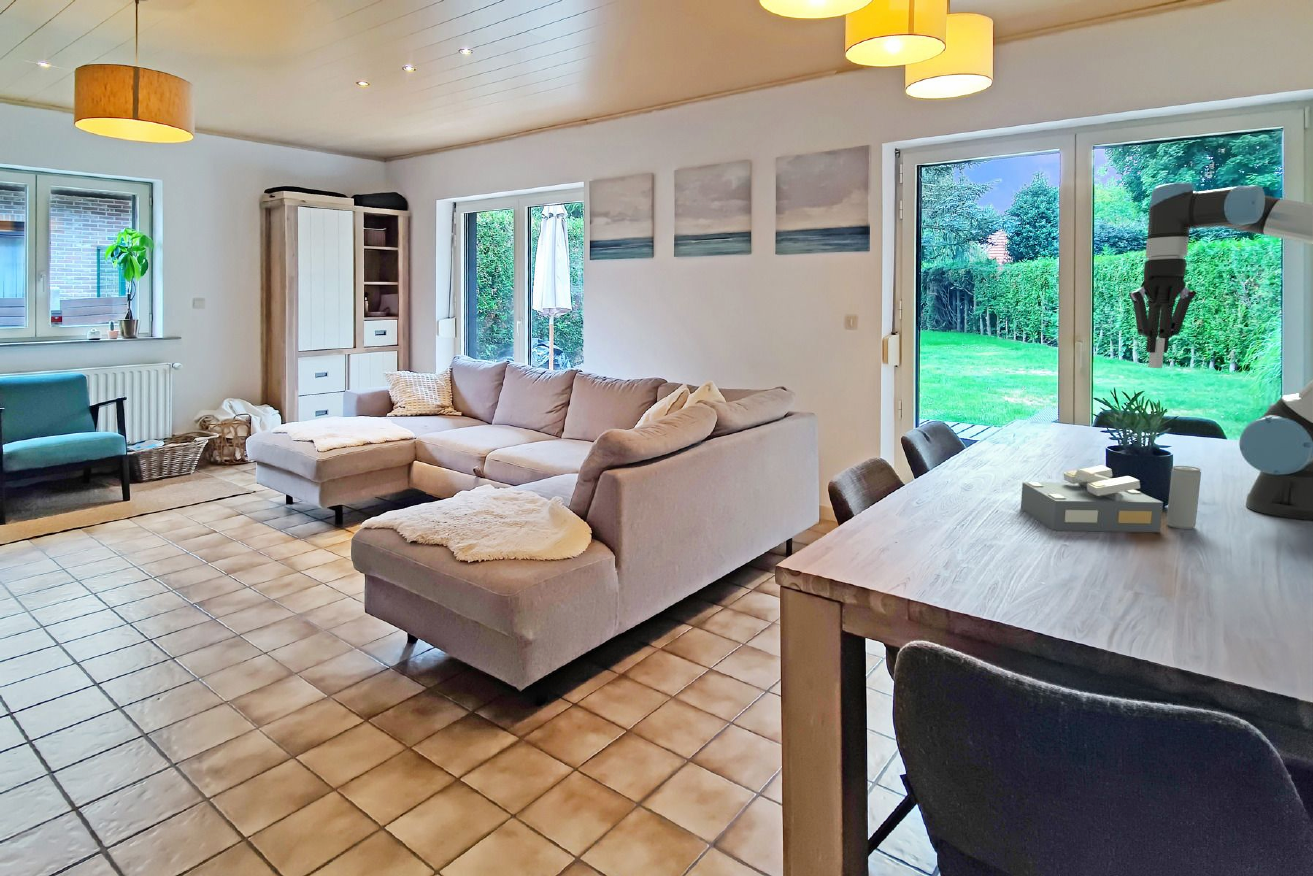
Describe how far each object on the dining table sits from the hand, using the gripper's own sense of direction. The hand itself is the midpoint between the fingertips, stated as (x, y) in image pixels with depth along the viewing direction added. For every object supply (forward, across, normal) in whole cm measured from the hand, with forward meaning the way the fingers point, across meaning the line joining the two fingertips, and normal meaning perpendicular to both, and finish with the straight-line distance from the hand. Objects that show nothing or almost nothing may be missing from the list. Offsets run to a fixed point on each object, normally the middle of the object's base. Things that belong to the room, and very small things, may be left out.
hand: (1155, 367), depth 167 cm
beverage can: (+31, +4, +22) cm, 38 cm away
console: (+30, +20, +18) cm, 40 cm away
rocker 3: (+22, +18, +23) cm, 36 cm away
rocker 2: (+22, +18, +18) cm, 33 cm away
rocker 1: (+22, +18, +12) cm, 31 cm away
